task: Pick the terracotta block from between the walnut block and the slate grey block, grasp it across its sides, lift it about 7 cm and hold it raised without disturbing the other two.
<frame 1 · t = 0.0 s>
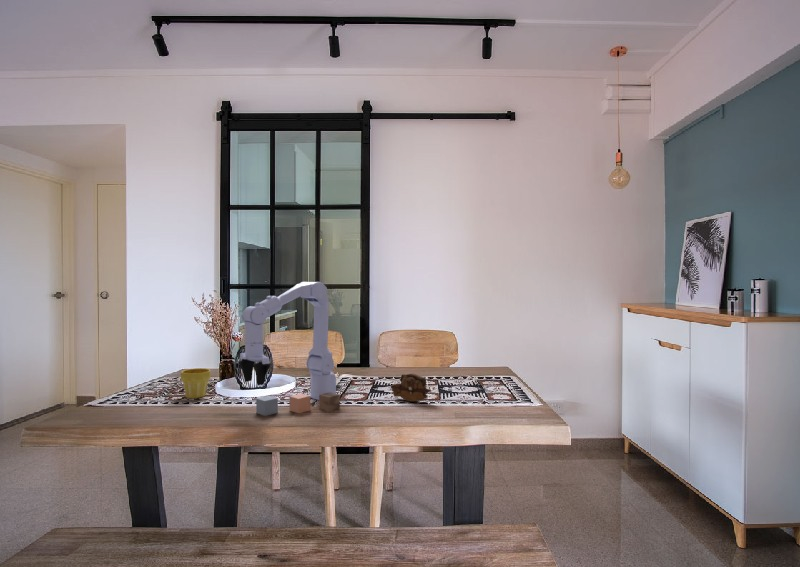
hand: (254, 382, 153), 10 cm above the table, fingers open, 7 cm apart
terracotta block: (300, 410, 156), on the table
walnut block: (329, 408, 158), on the table
plant pot: (195, 396, 174), on the table
slate block: (267, 413, 153), on the table
wooden carving: (410, 401, 168), on the table
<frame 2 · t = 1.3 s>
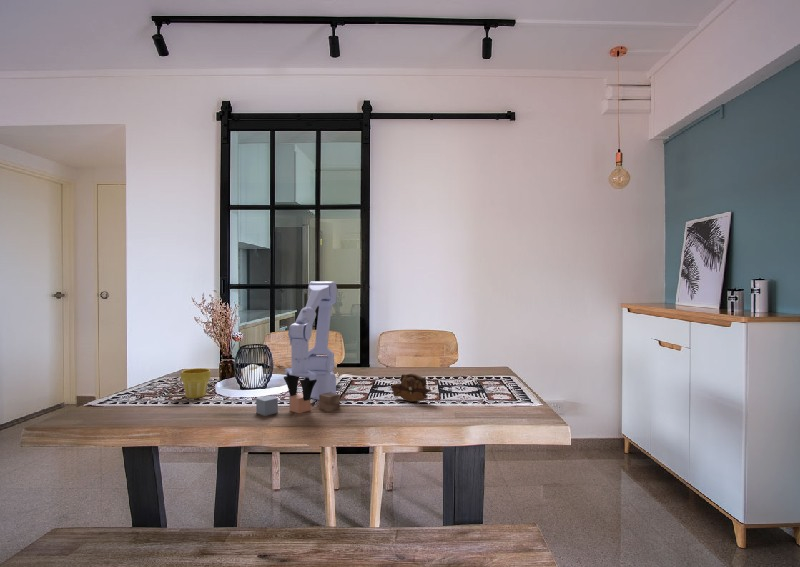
hand: (299, 398, 156), 4 cm above the table, fingers open, 7 cm apart
nothing on the table moved.
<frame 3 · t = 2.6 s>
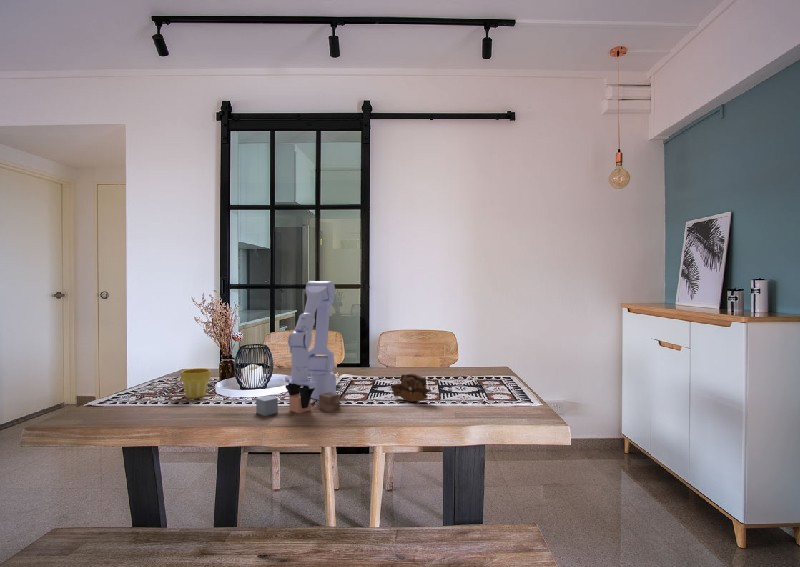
hand: (300, 406, 156), 1 cm above the table, fingers closed on terracotta block, 5 cm apart
terracotta block: (300, 410, 156), on the table, touching gripper
everything else where it was.
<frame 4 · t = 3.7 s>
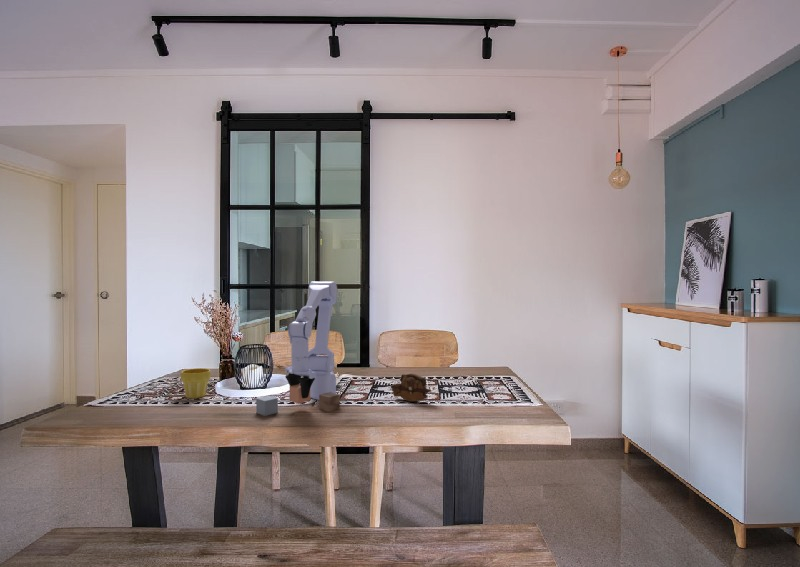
hand: (300, 396, 156), 5 cm above the table, fingers closed on terracotta block, 5 cm apart
terracotta block: (300, 400, 156), point 3 cm above the table, touching gripper
everything else where it was.
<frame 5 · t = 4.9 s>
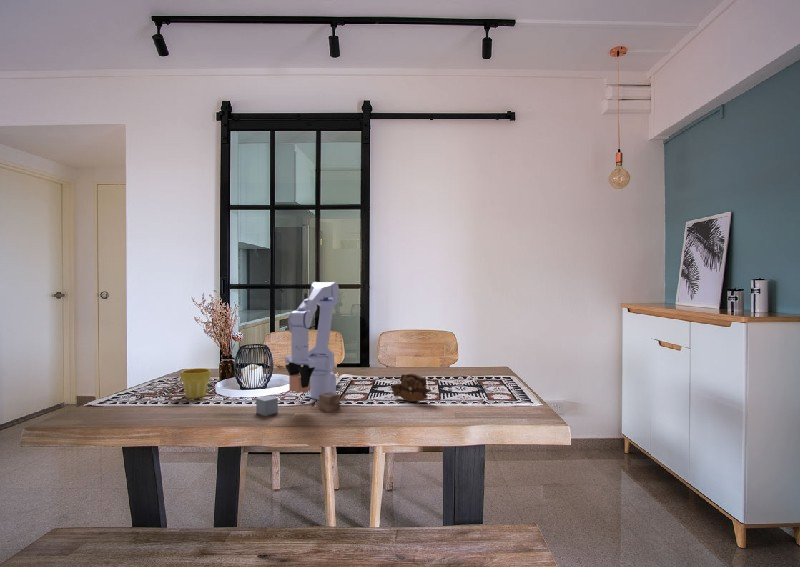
hand: (300, 385, 156), 8 cm above the table, fingers closed on terracotta block, 5 cm apart
terracotta block: (299, 390, 156), point 7 cm above the table, touching gripper
everything else where it was.
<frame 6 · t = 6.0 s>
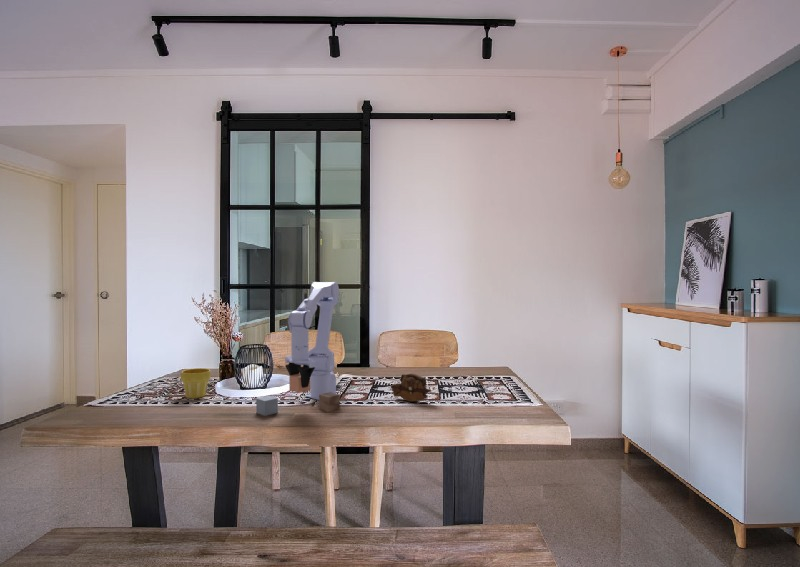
hand: (300, 385, 156), 8 cm above the table, fingers closed on terracotta block, 5 cm apart
terracotta block: (299, 390, 156), point 7 cm above the table, touching gripper
everything else where it was.
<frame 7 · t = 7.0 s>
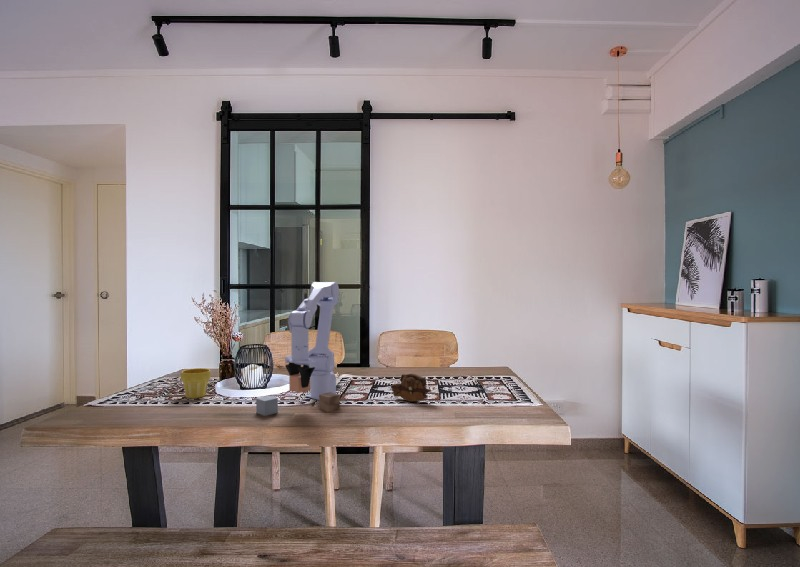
hand: (300, 385, 156), 8 cm above the table, fingers closed on terracotta block, 5 cm apart
terracotta block: (299, 390, 156), point 7 cm above the table, touching gripper
everything else where it was.
at the end: the gripper is holding terracotta block; terracotta block point 6.9 cm above the table; slate block moved 0.1 cm from its start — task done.
